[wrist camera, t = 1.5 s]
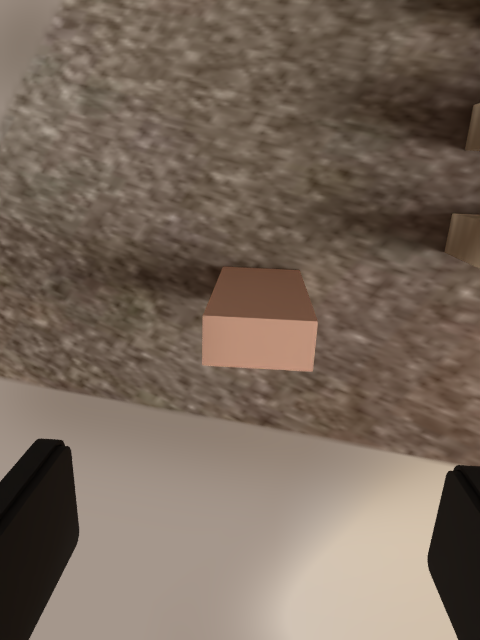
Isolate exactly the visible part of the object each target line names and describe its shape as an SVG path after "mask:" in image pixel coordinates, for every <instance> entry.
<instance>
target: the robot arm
mask: <svg viewBox="0 0 480 640" xmlns="http://www.w3.org/2000/svg"><path fill="white" fill-rule="evenodd" d="M78 537H79V523H78V513H77V504H76V495H75V484H74V475H73V465H72V456H71V450H70V447H68V446H65V444H64V442H63V441H62V440H55V439H54V440H53V439H37V440H36V441H35V442H34V443H33V444H32V446H31V447H30V448H29V449H28V450H27V451H26V452H25V454H24V455H23V456H22V457H21V458H20V459H19V461H18V462H17V463H16V464H15V466H13V468H12V469H11V470H10V471H9V472H8V473H7V475H6V476H5V477H4V478H3V479H2V480H1V482H0V640H29V638H30V636H31V634H32V632H33V630H34V628H35V625H36V624H37V622H38V620H39V618H40V616H41V614H42V612H43V610H44V608H45V606H46V604H47V603H48V600H49V599H50V597H51V595H52V592H53V591H54V588H55V587H56V585H57V583H58V581H59V579H60V577H61V575H62V573H63V571H64V569H65V567H66V565H67V563H68V561H69V559H70V557H71V555H72V553H73V551H74V549H75V547H76V545H77V542H78ZM428 567H429V571H430V573H431V576H432V578H433V581H434V583H435V586H436V588H437V590H438V593H439V595H440V597H441V600H442V602H443V604H444V607H445V609H446V612H447V614H448V616H449V618H450V621H451V623H452V626H453V628H454V630H455V633H456V635H457V638H458V640H480V466H464V465H457V466H456V467H455V468H454V470H453V471H448V473H447V475H446V478H445V483H444V487H443V491H442V496H441V500H440V505H439V509H438V514H437V518H436V522H435V526H434V531H433V535H432V539H431V543H430V548H429V552H428Z"/></svg>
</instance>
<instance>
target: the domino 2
mask: <svg viewBox="0 0 480 640" xmlns="http://www.w3.org/2000/svg"><path fill="white" fill-rule="evenodd" d="M445 253H447V254H449V255H451V256H454V257H456V258H458V259H460V260H462V261H464V262H466V263H469V264H471V265H473V266H475V267H477V268H479V269H480V215H478V214H455V213H452V217H451V222H450V227H449V232H448V237H447V242H446V247H445Z"/></svg>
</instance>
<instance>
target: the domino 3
mask: <svg viewBox="0 0 480 640" xmlns="http://www.w3.org/2000/svg"><path fill="white" fill-rule="evenodd" d="M465 150H469V151H480V103H478V104H475V105H474V106H473V111H472V116H471V121H470V126H469V131H468V136H467V141H466V146H465Z"/></svg>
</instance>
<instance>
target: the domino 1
mask: <svg viewBox="0 0 480 640" xmlns="http://www.w3.org/2000/svg"><path fill="white" fill-rule="evenodd" d="M317 325H318V321H317V318H316V315H315V312H314V309H313V306H312V304H311V301H310V298H309V295H308V292H307V290H306V287H305V284H304V281H303V278H302V276H301V273H300V270H286V269H265V268H245V267H224V266H223V268H222V271H221V273H220V275H219V278H218V280H217V283H216V285H215V287H214V290H213V292H212V295H211V297H210V299H209V302H208V304H207V307H206V309H205V312H204V314H203V353H202V365H206V366H223V367H241V368H259V369H276V370H294V371H311V372H313V363H314V354H315V344H316V335H317Z"/></svg>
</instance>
